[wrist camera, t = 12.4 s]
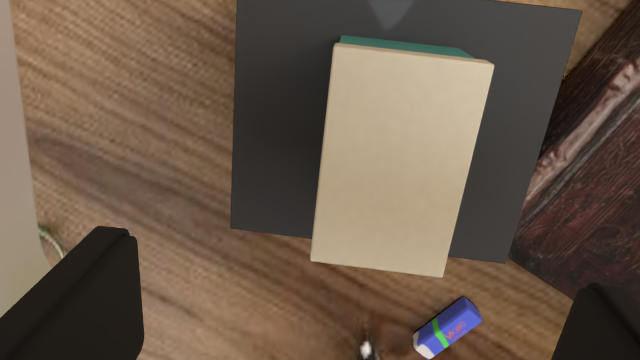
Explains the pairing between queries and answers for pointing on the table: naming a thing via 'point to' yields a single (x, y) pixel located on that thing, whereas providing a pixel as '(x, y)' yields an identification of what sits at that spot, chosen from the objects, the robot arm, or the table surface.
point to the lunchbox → (396, 153)
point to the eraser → (446, 328)
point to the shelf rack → (404, 26)
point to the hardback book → (589, 174)
